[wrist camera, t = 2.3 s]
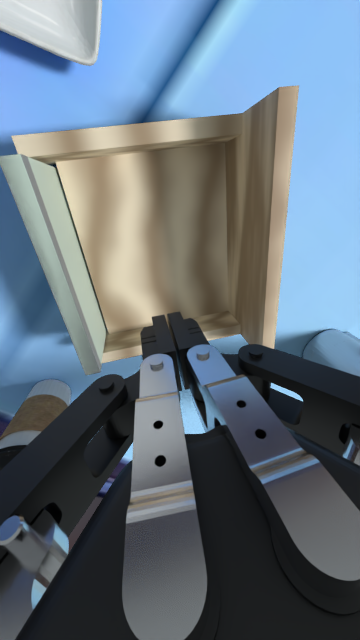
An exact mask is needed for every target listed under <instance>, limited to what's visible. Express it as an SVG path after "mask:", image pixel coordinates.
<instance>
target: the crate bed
mask: <svg viewBox="0 0 360 640" xmlns="http://www.w3.org/2000/svg"><path fill="white" fill-rule="evenodd" d="M298 90H299V86H287V87H279V88H277V89H276V90H275V91H273V92H272V93H270V94H269V95H267V96H266V97H265V98H263V99H262V100H260V101H259V102H258V103H256V104H255V105H253V106H252V107H251V108H249V109H248V110H246V111H245V112H244V113H240V114H230V115H220V116H210V117H199V118H189V119H179V120H169V121H159V122H149V123H138V124H128V125H118V126H108V127H98V128H88V129H77V130H67V131H57V132H47V133H37V134H27V135H16V136H12V139H13V142H14V145H15V147H16V150H17V153H18V154H23V155H25V156H27V157H29V158H32V159H34V160H37V161H40V162H42V163H45V164H47V165H53V164H56V165H57V169H58V172H59V175H60V178H61V182H62V185H63V188H64V191H65V194H66V198H67V201H68V204H69V207H70V211H71V214H72V217H73V220H74V224H75V227H76V230H77V233H78V236H79V240H80V243H81V246H82V249H83V253H84V256H85V259H86V262H87V265H88V269H89V272H90V275H91V278H92V282H93V285H94V288H95V291H96V294H97V298H98V301H99V304H100V307H101V311H102V314H103V317H104V320H105V323H106V327H107V330H106V337H105V343H104V350H103V356H102V363H106V362H110V361H115V360H120V359H124V358H129V357H134V356H139V355H142V346H141V336H140V333H141V331H142V329H143V328H144V327H148V326H153V322H152V317H153V316H158V315H163V314H164V315H165V318H166V321H167V324H168V319H167V314H168V313H173V312H179V311H180V313H181V315H182V317H183V319H188V318H192V319H193V320H195V321H197V323H198V325H199V326H200V328H201V330H202V332H203V334H204V335H205V337H206V339H207V341H209V340H214V339H219V338H223V337H228V336H233V335H237V334H241V335H242V336H243V338H244V339H245V340H246V341H247V342H248V344H259V345H263V346H266V347H269V348H272V349H274V345H275V334H276V324H277V313H278V302H279V292H280V281H281V271H282V260H283V249H284V239H285V228H286V217H287V207H288V196H289V186H290V175H291V164H292V154H293V143H294V132H295V122H296V111H297V101H298ZM168 327H169V325H168Z"/></svg>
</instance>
